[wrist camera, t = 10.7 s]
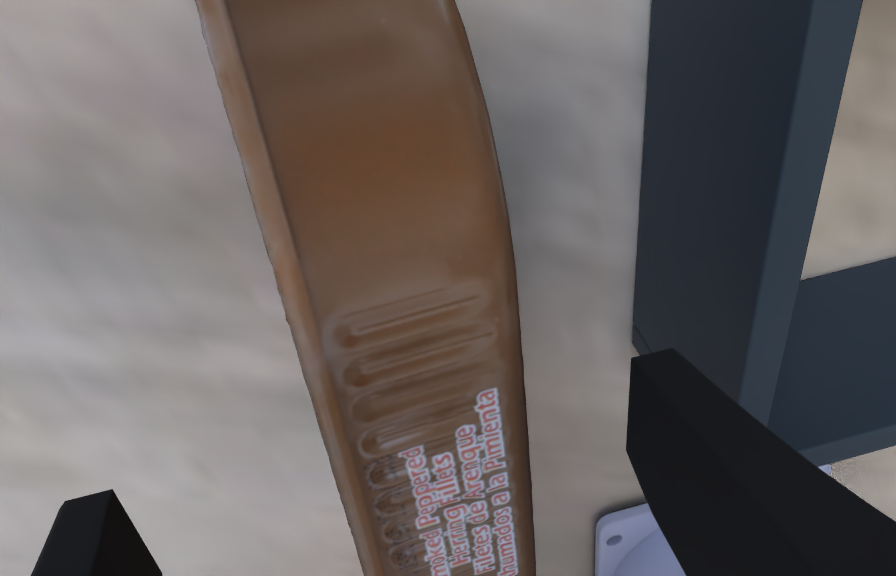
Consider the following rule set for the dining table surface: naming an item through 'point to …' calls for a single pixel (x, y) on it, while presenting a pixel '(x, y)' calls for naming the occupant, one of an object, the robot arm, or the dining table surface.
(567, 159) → the dining table surface
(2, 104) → the dining table surface
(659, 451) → the robot arm
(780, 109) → the bin
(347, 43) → the tin
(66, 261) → the dining table surface
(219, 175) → the dining table surface
